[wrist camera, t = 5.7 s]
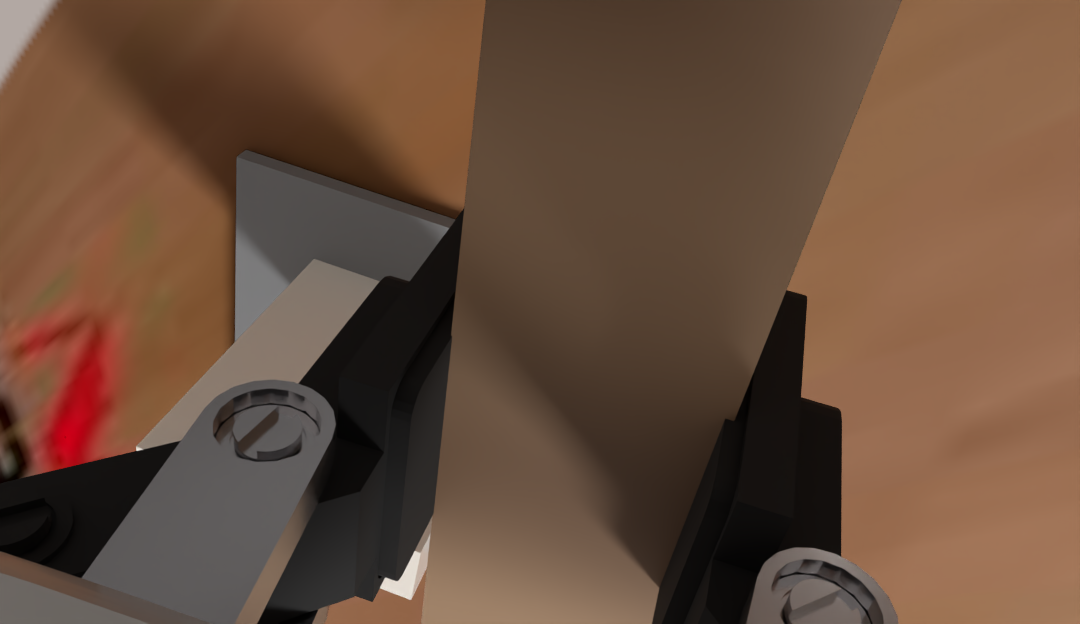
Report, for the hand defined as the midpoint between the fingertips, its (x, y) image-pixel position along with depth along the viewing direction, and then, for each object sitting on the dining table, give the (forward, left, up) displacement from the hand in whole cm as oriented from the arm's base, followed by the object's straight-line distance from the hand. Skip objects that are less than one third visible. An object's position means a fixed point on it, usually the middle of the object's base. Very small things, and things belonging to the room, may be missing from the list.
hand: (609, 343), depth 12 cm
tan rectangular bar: (0, 0, -1) cm, 1 cm away
